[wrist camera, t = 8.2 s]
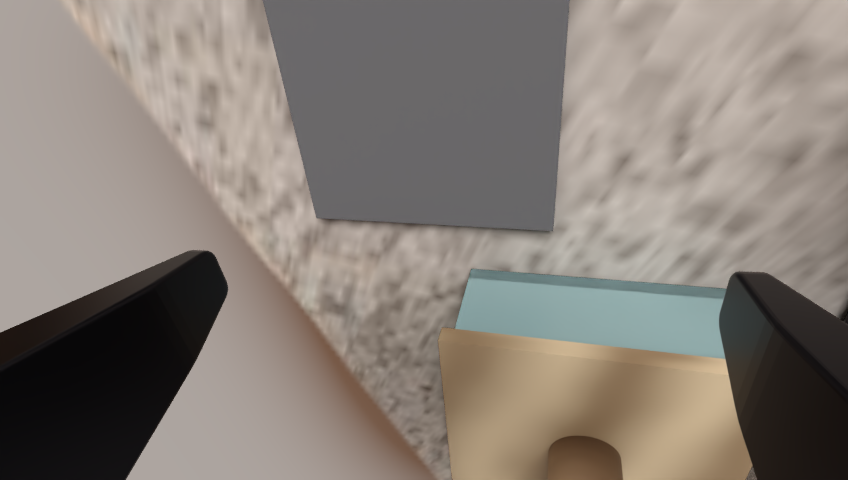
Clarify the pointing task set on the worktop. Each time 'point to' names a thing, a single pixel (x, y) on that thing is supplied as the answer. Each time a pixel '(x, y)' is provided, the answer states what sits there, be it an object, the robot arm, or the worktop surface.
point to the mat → (426, 107)
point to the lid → (585, 411)
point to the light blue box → (595, 311)
